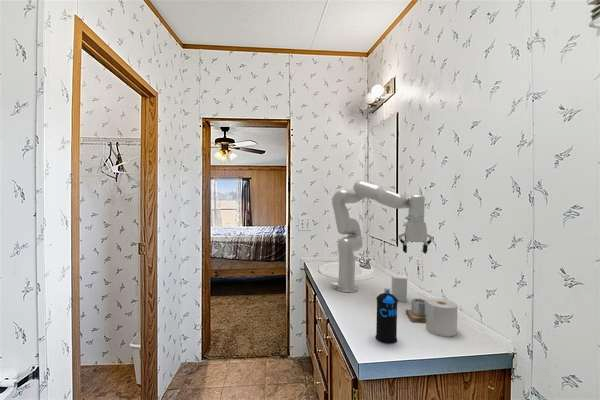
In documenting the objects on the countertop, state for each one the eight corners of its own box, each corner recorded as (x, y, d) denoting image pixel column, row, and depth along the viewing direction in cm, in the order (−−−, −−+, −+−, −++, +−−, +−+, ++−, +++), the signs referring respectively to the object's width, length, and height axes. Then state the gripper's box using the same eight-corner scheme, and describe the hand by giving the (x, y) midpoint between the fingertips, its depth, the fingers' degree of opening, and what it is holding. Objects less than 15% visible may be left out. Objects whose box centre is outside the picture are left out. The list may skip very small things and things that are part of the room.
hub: (414, 316, 138) (414, 303, 138) (410, 310, 145) (410, 298, 144) (428, 316, 138) (429, 303, 138) (423, 311, 144) (424, 298, 144)
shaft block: (411, 322, 136) (412, 304, 136) (405, 313, 146) (405, 297, 146) (434, 323, 136) (435, 305, 136) (426, 314, 146) (427, 297, 146)
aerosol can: (372, 334, 124) (373, 285, 124) (392, 333, 125) (393, 285, 124) (379, 344, 116) (380, 291, 116) (400, 343, 117) (401, 291, 116)
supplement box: (406, 302, 162) (407, 278, 162) (392, 301, 163) (392, 277, 163) (405, 297, 169) (405, 275, 169) (391, 296, 171) (391, 274, 170)
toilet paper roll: (445, 323, 136) (446, 297, 135) (463, 336, 124) (464, 307, 124) (420, 324, 134) (420, 298, 134) (436, 337, 122) (436, 308, 122)
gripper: (400, 219, 151) (399, 253, 152) (436, 220, 150) (435, 255, 151) (396, 218, 159) (395, 250, 159) (430, 219, 158) (429, 252, 158)
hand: (414, 252), depth 155 cm, fingers open, 9 cm apart
